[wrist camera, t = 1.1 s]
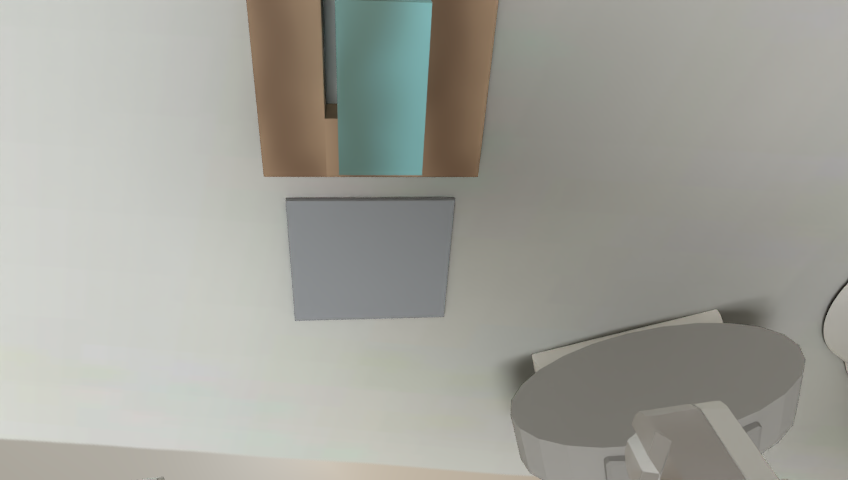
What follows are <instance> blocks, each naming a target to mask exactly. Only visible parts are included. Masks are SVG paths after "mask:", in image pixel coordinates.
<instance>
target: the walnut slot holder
mask: <svg viewBox="0 0 848 480" xmlns="http://www.w3.org/2000/svg"><path fill="white" fill-rule="evenodd" d="M431 1H432V17H431V34H430V51H429V67H428V84H427V101H426V117H425V134H424V150H423V167H422V175H339V154H338V111H337V104H326V92H325V62H324V33H323V4H322V0H246V2H247V12H248V22H249V32H250V42H251V52H252V63H253V73H254V83H255V93H256V103H257V113H258V123H259V133H260V143H261V153H262V163H263V174H264V177H478V172H479V163H480V155H481V146H482V137H483V129H484V120H485V112H486V103H487V94H488V86H489V77H490V69H491V60H492V52H493V43H494V34H495V26H496V17H497V9H498V0H431Z"/></svg>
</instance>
